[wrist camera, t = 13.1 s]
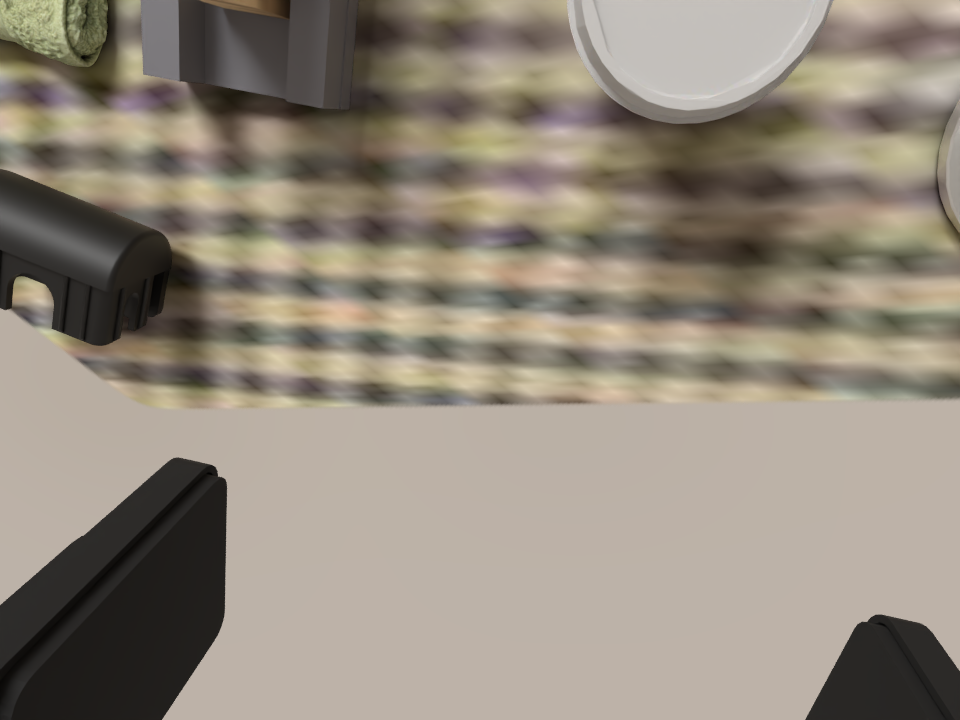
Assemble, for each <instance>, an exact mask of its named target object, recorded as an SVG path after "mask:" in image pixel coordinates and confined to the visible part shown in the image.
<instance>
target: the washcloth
mask: <svg viewBox="0 0 960 720" xmlns="http://www.w3.org/2000/svg"><path fill="white" fill-rule="evenodd" d="M107 11H108V4H107V0H0V39H3V40H6V41H13V42H17V43H18V44H19V45H21V46H23V47H24V48H26V49H28V50H32V51H33V52H37V53H39V54H43V55H44V56H46V57H48V58H50V59H56V60H57V61H61V62H63V63H64V64H68V65H71V66H72V65H73V66H76V67H90V66H91V65H93V64H94V63H95V61H96V60H97V59H98V56H99V54H100V51H101V48H102V44H103V43H104V42H105V40H106V36H107V31H106V30H107V26H108V24H107Z"/></svg>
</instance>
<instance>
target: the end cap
mask: <svg viewBox="0 0 960 720" xmlns="http://www.w3.org/2000/svg"><path fill="white" fill-rule="evenodd" d="M171 262H172V253H171V247H170V244H169V242H168V240H167V238H166V237H165V236H164V235H163V234H162V233H160V232H159V231H157V230H154V229H152V228H149V227H147V226H144V225H142V224H140V223H137V222H135V221H132V220H130V219H127V218H125V217H122V216H120V215H117V214H115V213H112V212H110V211H107V210H105V209H102V208H100V207H97V206H95V205H92V204H90V203H87V202H85V201H82V200H80V199H78V198H75V197H73V196H70V195H68V194H65V193H63V192H60V191H58V190H55V189H53V188H50V187H48V186H45V185H43V184H40V183H38V182H35V181H33V180H30V179H28V178H25V177H23V176H20V175H18V174H16V173H13V172H10V171H7V170H3V169H0V308H1V309H4V310H7V309H10V308H12V295H13V284H14V281H15V279H16V277H19V276H25V277H28V278H30V279H33V280H35V281H38V282H40V283H43V284H45V285H46V286H47V287H48V288H49V290H50V292H51V293H52V296H53V300H54V312H53V322H52V329H54V330H57V331H59V332H62V333H64V334H67V335H69V336H72V337H74V338H77V339H79V340H82V341H84V342H87V343H89V344H92V345H97V346H103V345H107V344H109V343H111V342H113V341H115V340H117V339H119V338H120V336H121V330H122V323H123V317H124V316H126V317H128V318H129V323H128V329H129V330H132V331H135V330H137V329H139V328H141V327H143V326H145V325H146V322H147V316H148V317H154V316H156V315H158V314H160V313H161V311H162V309H163V303H164V298H165V292H166V287H167V281H168V275H169V270H170V269H171Z"/></svg>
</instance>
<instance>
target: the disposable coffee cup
mask: <svg viewBox="0 0 960 720" xmlns="http://www.w3.org/2000/svg"><path fill="white" fill-rule="evenodd" d="M832 3H833V0H567V9H568V15H569V22H570V28H571V31H572V35H573V38H574V42H575V45H576V49H577V51H578V53H579V55H580V57H581V59H582V61H583V63H584V65H585V67H586V68H587V70H588V71H589V73H590V74H591V76H592V78H593V79H594V80H595V82H596V83H597V84H598V85H599V86H600V87H601V88H602V89H603V90H604V91H605V92H606V94H607V95H608V96H610V97H611V98H612V99H613V100H615V101H616V102H617V103H619V104H620V105H622V106H623V107H625V108H626V109H628V110H630V111H631V112H633V113H636V114H638V115H641V116H644V117H646V118H649V119H652V120H656V121H661V122H666V123H672V124H685V123H702V122H707V121H712V120H717V119H721V118H723V117H726V116H729V115H731V114H734V113H737V112H739V111H742V110H743V109H745V108H747V107H749V106H750V105H752V104H754V103H756V102H757V101H759V100H761V99H762V98H764V97H765V96H766V95H767V94H769V93H770V92H771V91H772V90H774V89H775V88H776V87H777V86H779V85H780V84H781V83H782V82H784V81H785V80H786V78H787V77H788V76H789V75H790V74H791V73H792V71H793V70H794V69H795V68H796V67H797V66H798V64H799V63H800V62H801V61H802V60H803V59H804V57H805V56H806V55H807V54H808V53H809V51H810V49H811V47H812V46H813V44H814V42H815V40H816V38H817V37H818V35H819V33H820V31H821V30H822V28H823V26H824V24H825V21H826V18H827V16H828V13H829V11H830V8H831V5H832Z"/></svg>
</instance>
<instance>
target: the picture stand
mask: <svg viewBox="0 0 960 720" xmlns="http://www.w3.org/2000/svg"><path fill="white" fill-rule="evenodd" d="M357 12H358V0H291V2H290V20H287V19H281V18H276V17H270V16H265V15H259V14H254V13H248V12H243V11H237V10H232V9H226V8H222V7H218V6H215V5H212V4H209V3H206V2H202V1H199V0H141V21H142V51H143V74H144V75H150V76H155V77H160V78H165V79H171V80H176V81H183V82H194V83H205V84H211V85H216V86H221V87H226V88H232V89H237V90H242V91H247V92H253V93H258V94H263V95H268V96H274V97H279V98H284V99H286V102H291V103H296V104H302V105H307V106H312V107H317V108H323V109H349V107H350V95H351V83H352V71H353V59H354V47H355V36H356V24H357Z"/></svg>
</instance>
